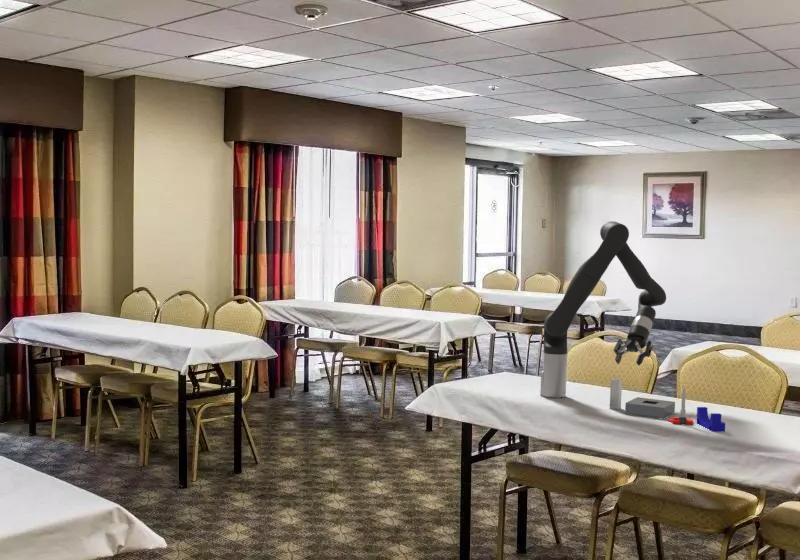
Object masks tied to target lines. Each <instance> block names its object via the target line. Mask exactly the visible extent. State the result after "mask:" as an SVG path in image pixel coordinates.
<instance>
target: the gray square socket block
mask: <svg viewBox="0 0 800 560" xmlns="http://www.w3.org/2000/svg"><path fill="white" fill-rule="evenodd" d="M674 412H675V413H676V401H670V400H664V399H663V400H662V399H653V398H646V397H639V396H638V397H635V398H632V399H631V400H628V401H627V402H625V408H624V414H626V415H630V414H631V415H632V416H637V415H639V416H640V417H645V416H646V417H645V418H652V417H655V419H660V418H662V419H661V420H665V419H667V418H668V417H670V416H671V414H672V413H673V414H675V413H674ZM673 414H672V415H673ZM669 415H670V416H669ZM639 416H638V417H639ZM667 416H668V417H667ZM666 417H667V418H666ZM664 418H665V419H664Z"/></svg>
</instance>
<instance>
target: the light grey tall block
mask: <svg viewBox="0 0 800 560" xmlns="http://www.w3.org/2000/svg"><path fill="white" fill-rule="evenodd" d="M622 385H623V380H622V379H621V378H611V379H610V391H609V393H610V394H609V395H610V396H609V410H616V411H617V410H621V409H622V387H623V386H622Z"/></svg>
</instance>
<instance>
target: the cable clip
mask: <svg viewBox="0 0 800 560" xmlns="http://www.w3.org/2000/svg"><path fill="white" fill-rule="evenodd" d="M696 408H697V409H696V424H697V425H698V424H699V425H698V426H700V425H701V427H702V426H703V427H702V428H704V427H705V429H706V428H707V430H708V429H709V430H708V431H710V432H715V433H716V432H719V433H721V432H722V433H723V432H726V422H724V421H722V414H721V413H719V412H718V413H710V415H709V413H708V411H709V410H708V407H706V406H697V407H696Z"/></svg>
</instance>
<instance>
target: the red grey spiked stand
mask: <svg viewBox="0 0 800 560" xmlns="http://www.w3.org/2000/svg"><path fill="white" fill-rule="evenodd" d="M680 407H681V408H680V412H679V413H680V414H679V415H680V416H679V417H677V416H675V417H673V416H672V417H667V421H668V422H670V423H672V424H673V425H681V424H685V425H684V426H686V425H687V426H689V425H690V426H693V424H694V419H691V418H687V417H686V387H685V386H683V387H682V392H681V406H680Z"/></svg>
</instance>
